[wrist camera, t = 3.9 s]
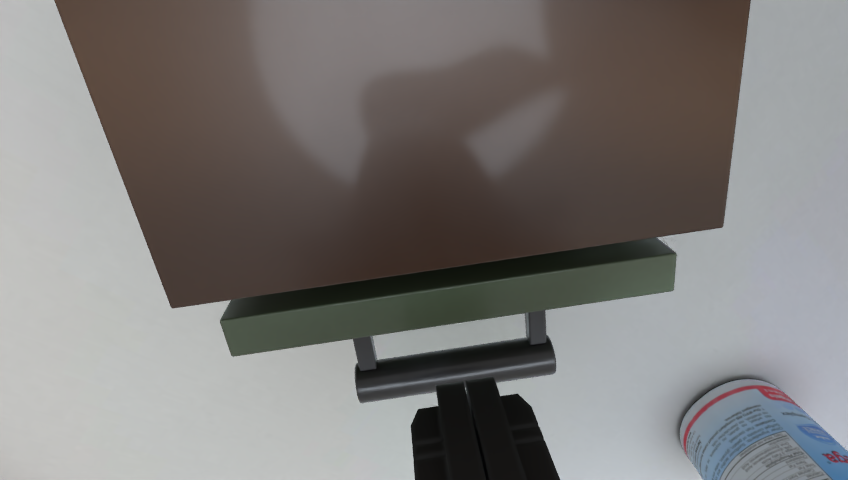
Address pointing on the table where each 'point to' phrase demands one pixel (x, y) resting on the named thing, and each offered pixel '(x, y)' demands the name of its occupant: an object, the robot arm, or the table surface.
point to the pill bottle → (758, 437)
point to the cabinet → (406, 130)
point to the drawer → (449, 313)
